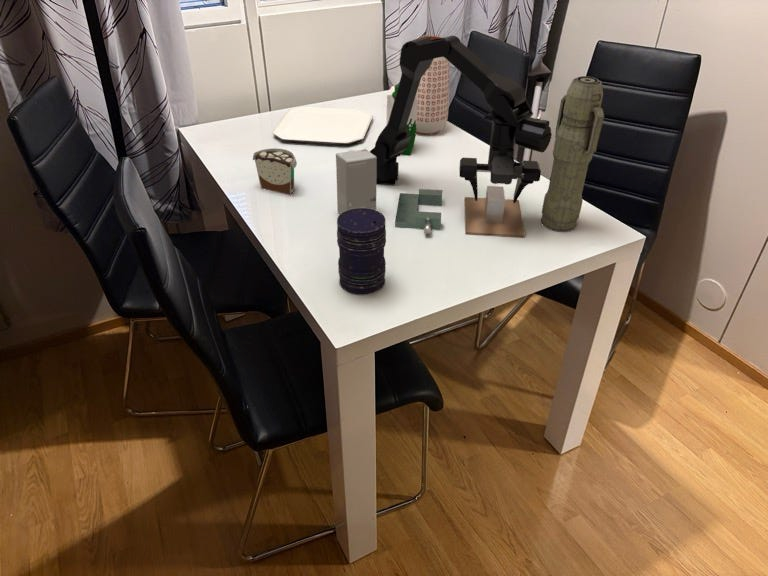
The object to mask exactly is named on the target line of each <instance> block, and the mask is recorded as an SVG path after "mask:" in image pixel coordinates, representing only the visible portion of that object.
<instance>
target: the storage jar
mask: <svg viewBox="0 0 768 576" xmlns="http://www.w3.org/2000/svg"><path fill="white" fill-rule="evenodd" d="M386 223H387V222H386V216H385V215H384V214H383V213H382V212H380V211H378V210H377V209H376V210H373V209H367V208H356V209H351V210H347V211H345V212H343V213H341V214H339V215H338V216H337V218H336V225H337V227H336V235H337V236H336V238H337V239H336V241H337V246H338V250H339V252H338V253H339V257H338V262H337V263H338V264H337V265H338V267H337V268H338V277H339V286H340V287H341V289H342V290H343V291H345V292H347V293H348V294H352V295H358V296H366V295H367V296H368V295H372V294H375V293H377V292H379V291H381V289H383V288H384V286H385V283H386V282H385V281H386V280H385V279H386V278H385V277H386V268H387V267H386V265H387V263H386V257H385V247H386V243H387V229H386Z"/></svg>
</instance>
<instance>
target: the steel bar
mask: <svg viewBox="0 0 768 576" xmlns="http://www.w3.org/2000/svg"><path fill="white" fill-rule="evenodd" d="M504 188H505V187H504V186H499V185H498V186H496V185H486V190H485V191H486V193H485V198H486V199H485V223H496V224H502V221H503V214H504V206H505V199H506V197H505V189H504Z"/></svg>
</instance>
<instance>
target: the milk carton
mask: <svg viewBox="0 0 768 576" xmlns="http://www.w3.org/2000/svg"><path fill="white" fill-rule="evenodd" d="M398 86H399V83H397V84H395V85H394V86H393V85H392V86H391V87H390V88H389V91H388V93H387V94H386V95H387V96H386V122H385V123H386V125H387V124H388V121H389V117H390V114H391V110H392V107H393V103H394V100H395V96H396V93H397V89H398ZM417 104H418V97H417V93H416V96H415V99H414V103H413V106H412V109H411V112H410V116H409V119H408V122H407V125H406V129H407V133H408V134H410V135H411V139H410V141H409V147H408V148H406V149H405V150H404V151H403V152H402V153H401V156H402V155H403V156H411V155H412V152H413V149H414V147H415V143H416V136H417V133H416V130H417ZM386 125H385V126H386Z"/></svg>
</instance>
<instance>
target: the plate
mask: <svg viewBox="0 0 768 576" xmlns="http://www.w3.org/2000/svg"><path fill="white" fill-rule="evenodd" d="M373 117H374V116H373V114H372V113H369V112H367V111H365V110H363V109H353V108H339V107H338V108H335V107H319V106H318V107H317V106H302V107H297V108H293V109H291V110H290V109H289V111H288V112H287V113H286V115H285V116H284V117H283V118H282V120H280V122H279V123H278V125H277V126H276V128H275V129H274V131H273V132H272V135H274V136H276V137H277V138H278V139H279V140H281V141H287V142H291V141H295V142H294V143H306V142H311V143H310V144H323V143H327V145H339V144H343V145H348V144H353V143H356V142H359V141H363V140H364V138H365V136H366V134H367V131H368V129H369V127H370V124H371V123H372V120H373Z"/></svg>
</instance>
